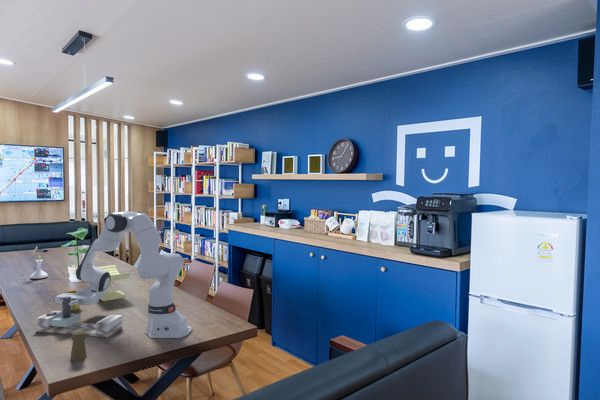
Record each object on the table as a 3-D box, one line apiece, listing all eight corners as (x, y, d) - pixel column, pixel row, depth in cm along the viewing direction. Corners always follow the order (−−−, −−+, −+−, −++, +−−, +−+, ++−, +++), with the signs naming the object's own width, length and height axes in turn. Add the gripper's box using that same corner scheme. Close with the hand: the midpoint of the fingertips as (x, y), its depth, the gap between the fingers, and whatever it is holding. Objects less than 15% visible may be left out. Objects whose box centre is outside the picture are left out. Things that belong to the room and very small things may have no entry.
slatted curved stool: (89, 294, 256) (89, 267, 256) (114, 290, 267) (114, 264, 266) (103, 305, 234) (103, 276, 234) (130, 300, 245) (130, 272, 244)
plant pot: (57, 310, 223) (57, 293, 222) (74, 305, 232) (74, 289, 232) (70, 312, 219) (70, 295, 218) (86, 307, 228) (86, 291, 228)
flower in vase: (35, 276, 299) (35, 244, 298) (51, 276, 300) (51, 244, 300) (25, 280, 286) (25, 247, 285) (41, 280, 287) (41, 247, 287)
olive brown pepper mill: (73, 362, 159) (73, 336, 159) (68, 357, 163) (68, 332, 163) (88, 357, 164) (88, 332, 164) (83, 353, 168) (83, 328, 168)
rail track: (121, 328, 198) (122, 314, 198) (107, 337, 186) (107, 322, 186) (54, 322, 203) (54, 309, 203) (36, 331, 191) (36, 316, 191)
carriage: (80, 322, 200) (80, 295, 199) (66, 329, 190) (66, 300, 189) (66, 321, 201) (66, 294, 200) (51, 328, 191) (51, 299, 190)
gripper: (66, 289, 209) (46, 296, 195) (101, 291, 207) (83, 298, 193) (66, 300, 209) (46, 308, 196) (101, 303, 207) (83, 311, 193)
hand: (65, 303), depth 194 cm, fingers closed on carriage, 4 cm apart
